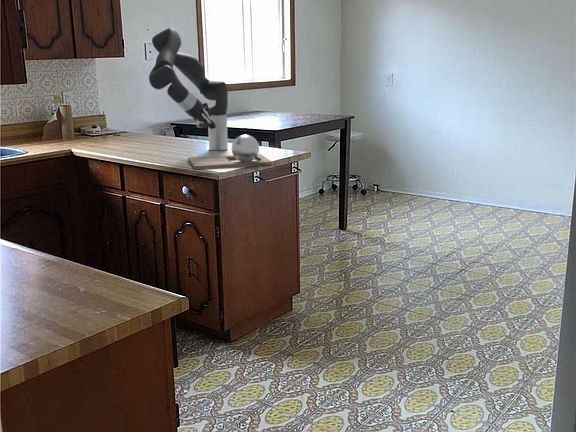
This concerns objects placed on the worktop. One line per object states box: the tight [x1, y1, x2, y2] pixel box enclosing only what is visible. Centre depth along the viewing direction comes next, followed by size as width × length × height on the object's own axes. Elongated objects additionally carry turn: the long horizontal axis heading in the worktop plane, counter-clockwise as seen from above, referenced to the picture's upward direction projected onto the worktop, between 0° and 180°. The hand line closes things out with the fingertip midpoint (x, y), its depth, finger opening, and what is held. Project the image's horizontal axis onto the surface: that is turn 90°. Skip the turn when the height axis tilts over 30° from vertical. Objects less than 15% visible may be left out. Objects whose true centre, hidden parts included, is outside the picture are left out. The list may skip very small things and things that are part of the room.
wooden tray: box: [187, 153, 273, 170], centre depth 274 cm, size 22×33×2 cm, turn 106°
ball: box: [231, 134, 260, 162], centre depth 274 cm, size 12×12×12 cm
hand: (214, 127), depth 270 cm, fingers closed
